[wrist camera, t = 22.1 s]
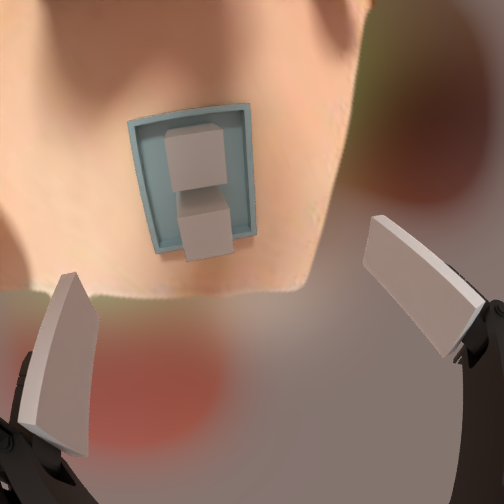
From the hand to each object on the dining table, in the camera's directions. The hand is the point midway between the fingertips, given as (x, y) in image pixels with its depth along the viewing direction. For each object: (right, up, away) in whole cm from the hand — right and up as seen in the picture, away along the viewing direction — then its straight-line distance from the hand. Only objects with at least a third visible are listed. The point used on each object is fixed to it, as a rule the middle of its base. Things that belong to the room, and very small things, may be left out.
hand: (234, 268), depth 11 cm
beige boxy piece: (-7, +7, +28) cm, 30 cm away
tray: (-7, +11, +26) cm, 29 cm away
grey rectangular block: (-7, +15, +23) cm, 28 cm away
